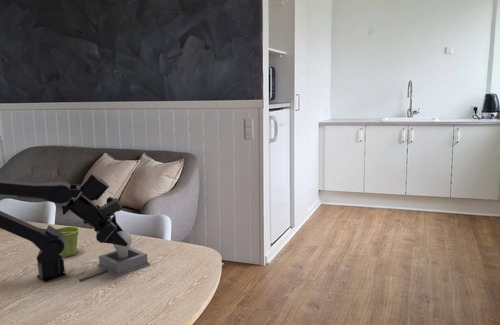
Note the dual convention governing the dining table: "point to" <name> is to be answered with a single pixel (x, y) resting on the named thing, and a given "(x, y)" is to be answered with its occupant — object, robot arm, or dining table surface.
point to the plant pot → (69, 240)
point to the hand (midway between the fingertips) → (126, 240)
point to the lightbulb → (123, 250)
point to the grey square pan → (120, 263)
